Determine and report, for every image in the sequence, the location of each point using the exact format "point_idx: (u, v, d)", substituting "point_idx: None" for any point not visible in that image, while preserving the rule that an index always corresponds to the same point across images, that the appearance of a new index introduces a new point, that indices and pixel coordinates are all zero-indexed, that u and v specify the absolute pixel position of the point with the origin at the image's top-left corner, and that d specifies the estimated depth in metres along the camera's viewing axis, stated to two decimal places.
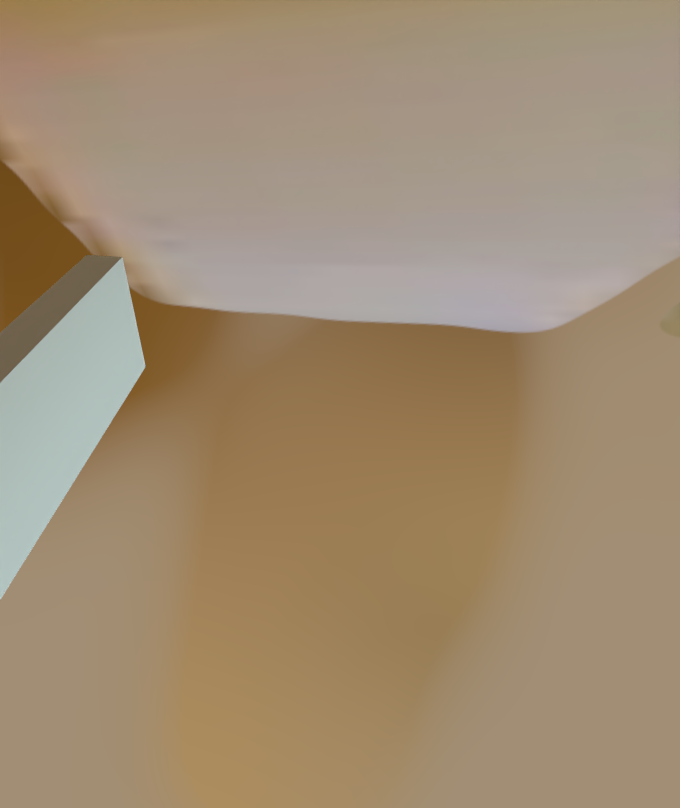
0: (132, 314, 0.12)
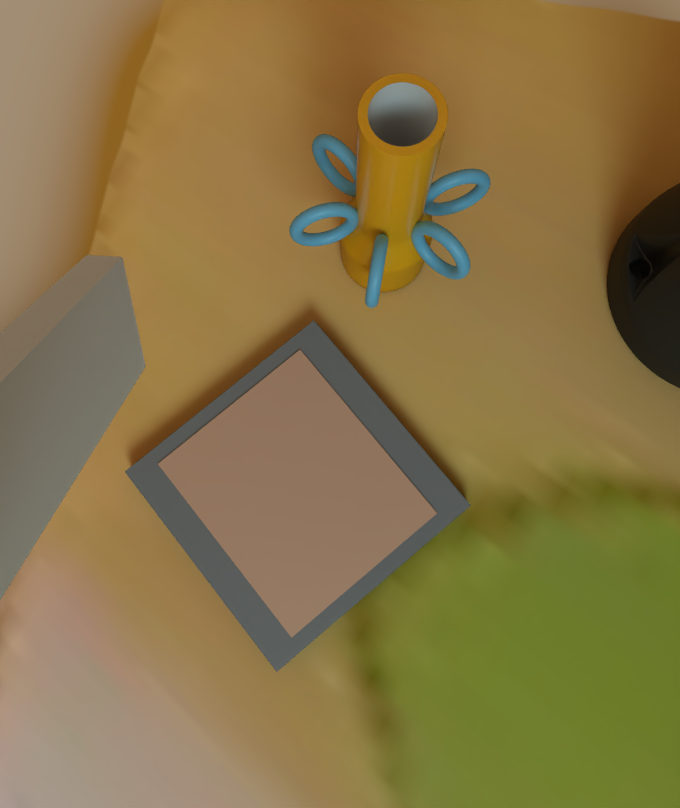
0: (132, 314, 0.12)
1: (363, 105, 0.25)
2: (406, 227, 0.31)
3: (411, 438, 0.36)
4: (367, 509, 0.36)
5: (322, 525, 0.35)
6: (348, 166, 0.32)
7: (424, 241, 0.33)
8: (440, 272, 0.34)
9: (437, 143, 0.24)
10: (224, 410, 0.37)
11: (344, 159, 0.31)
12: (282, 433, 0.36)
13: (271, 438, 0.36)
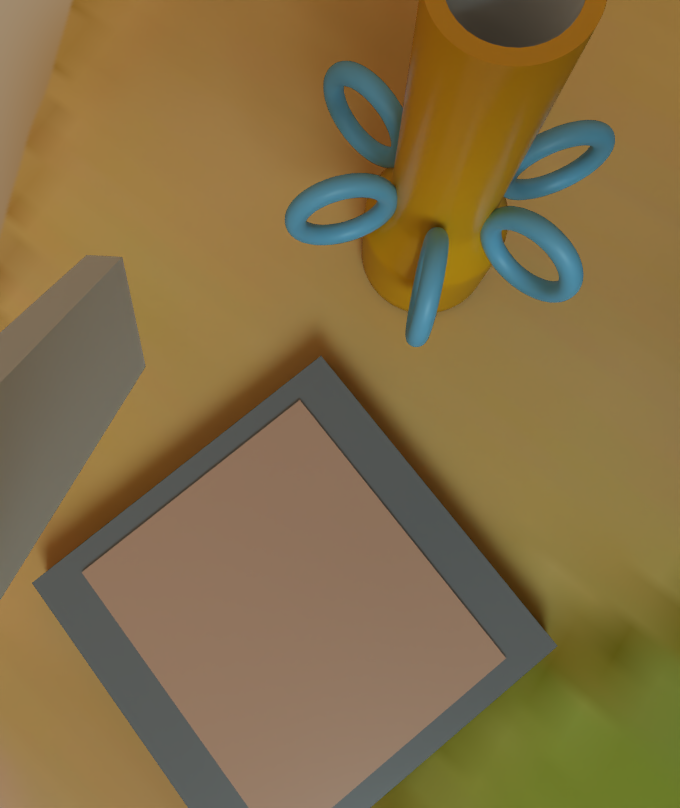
0: (132, 314, 0.12)
1: None
2: (478, 216, 0.19)
3: (466, 539, 0.24)
4: (399, 648, 0.23)
5: (330, 674, 0.23)
6: (383, 114, 0.19)
7: (501, 240, 0.21)
8: (523, 290, 0.21)
9: (584, 44, 0.12)
10: (184, 491, 0.24)
11: (377, 101, 0.19)
12: (271, 528, 0.24)
13: (253, 536, 0.24)
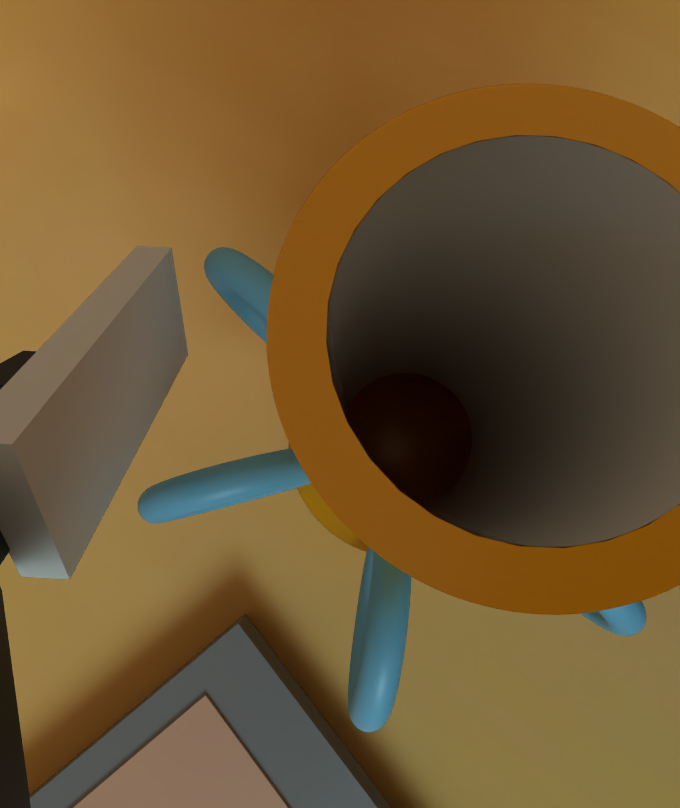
0: (177, 303, 0.13)
1: (302, 274, 0.04)
2: None
3: None
4: None
5: None
6: None
7: None
8: None
9: None
10: None
11: None
12: None
13: None
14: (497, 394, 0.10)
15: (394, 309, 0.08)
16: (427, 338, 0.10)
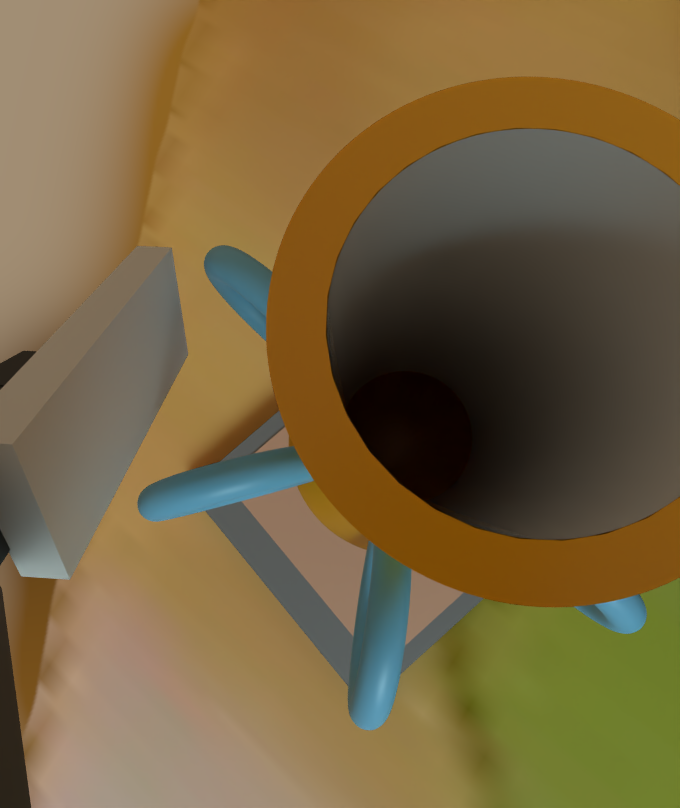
0: (177, 303, 0.13)
1: (302, 267, 0.04)
2: None
3: None
4: None
5: None
6: None
7: None
8: None
9: None
10: None
11: None
12: None
13: None
14: (497, 391, 0.10)
15: (394, 306, 0.08)
16: (427, 335, 0.10)
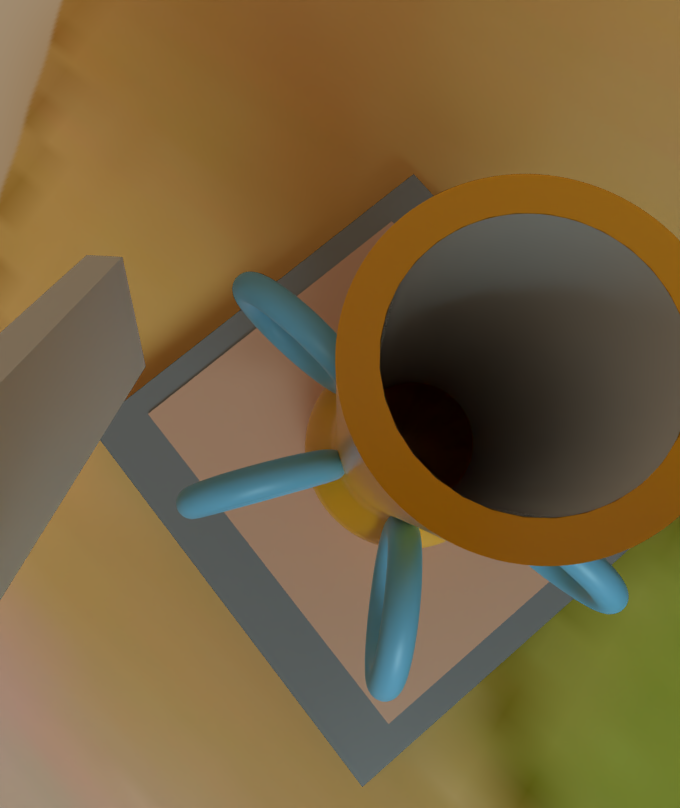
0: (132, 314, 0.12)
1: (360, 318, 0.06)
2: None
3: None
4: None
5: None
6: (316, 358, 0.13)
7: None
8: (533, 568, 0.15)
9: None
10: None
11: (306, 343, 0.12)
12: None
13: None
14: (496, 401, 0.12)
15: (411, 331, 0.09)
16: (435, 353, 0.12)
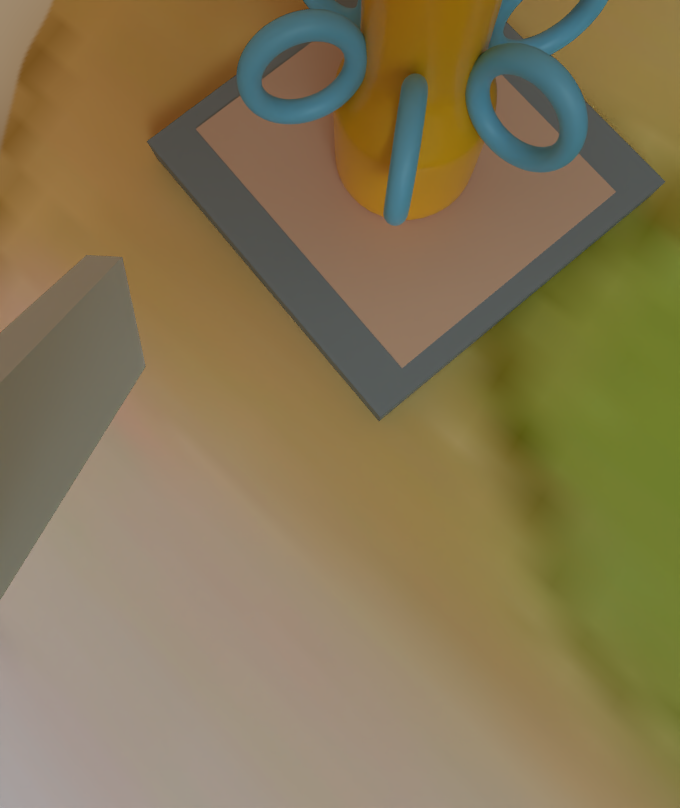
0: (132, 314, 0.12)
1: None
2: (461, 57, 0.16)
3: None
4: (510, 188, 0.24)
5: (444, 210, 0.24)
6: None
7: (489, 102, 0.18)
8: (518, 162, 0.18)
9: None
10: (293, 56, 0.25)
11: None
12: None
13: None
14: None
15: None
16: None
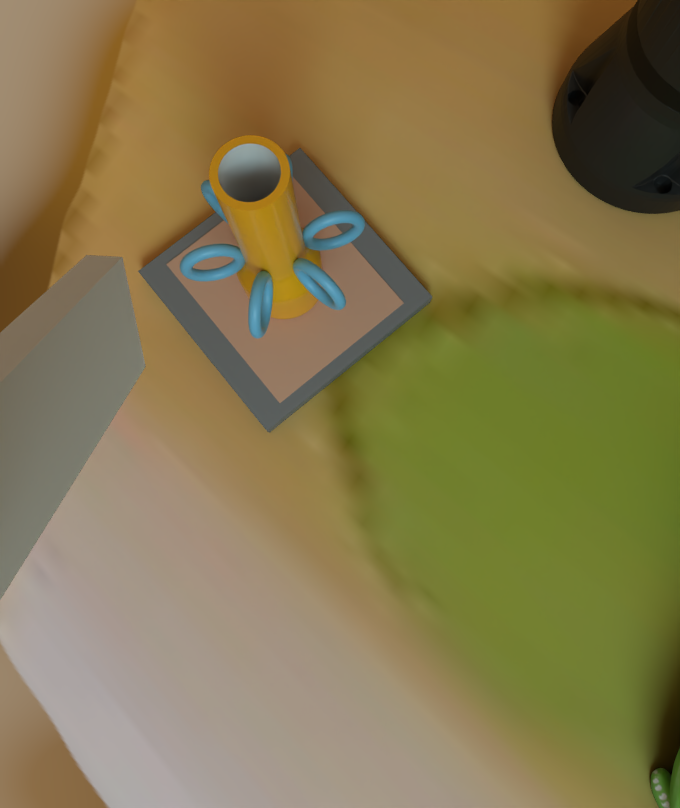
0: (132, 314, 0.12)
1: (214, 165, 0.27)
2: (283, 264, 0.34)
3: (382, 243, 0.42)
4: None
5: (306, 313, 0.42)
6: None
7: (307, 275, 0.36)
8: (324, 303, 0.36)
9: (281, 198, 0.27)
10: (223, 221, 0.43)
11: None
12: None
13: None
14: None
15: (249, 187, 0.31)
16: None
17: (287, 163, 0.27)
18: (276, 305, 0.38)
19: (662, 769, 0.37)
